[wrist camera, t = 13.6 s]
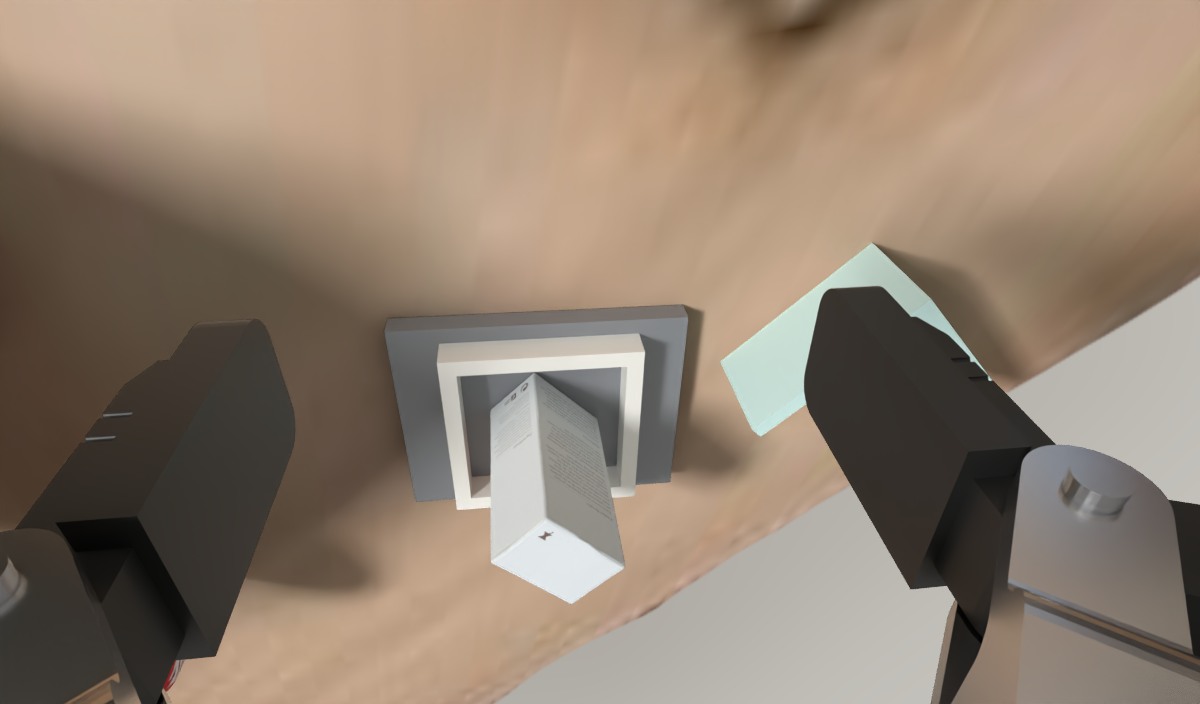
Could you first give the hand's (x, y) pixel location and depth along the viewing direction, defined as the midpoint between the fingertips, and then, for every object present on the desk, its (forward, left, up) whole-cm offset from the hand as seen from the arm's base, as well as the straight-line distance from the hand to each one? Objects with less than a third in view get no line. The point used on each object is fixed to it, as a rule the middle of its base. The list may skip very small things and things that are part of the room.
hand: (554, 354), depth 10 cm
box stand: (-1, +23, -28) cm, 36 cm away
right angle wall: (-21, +21, -28) cm, 41 cm away
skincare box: (-1, +23, -26) cm, 35 cm away
